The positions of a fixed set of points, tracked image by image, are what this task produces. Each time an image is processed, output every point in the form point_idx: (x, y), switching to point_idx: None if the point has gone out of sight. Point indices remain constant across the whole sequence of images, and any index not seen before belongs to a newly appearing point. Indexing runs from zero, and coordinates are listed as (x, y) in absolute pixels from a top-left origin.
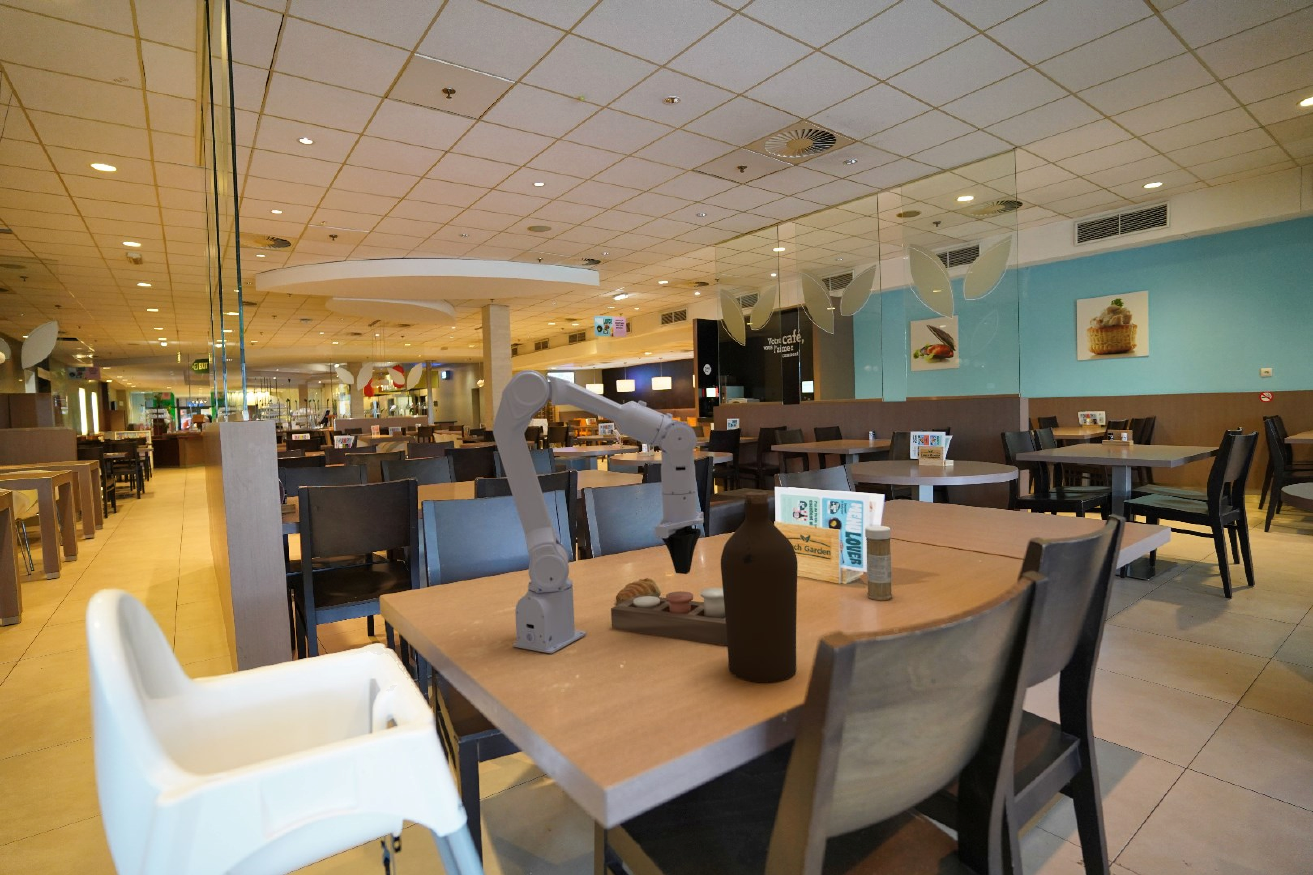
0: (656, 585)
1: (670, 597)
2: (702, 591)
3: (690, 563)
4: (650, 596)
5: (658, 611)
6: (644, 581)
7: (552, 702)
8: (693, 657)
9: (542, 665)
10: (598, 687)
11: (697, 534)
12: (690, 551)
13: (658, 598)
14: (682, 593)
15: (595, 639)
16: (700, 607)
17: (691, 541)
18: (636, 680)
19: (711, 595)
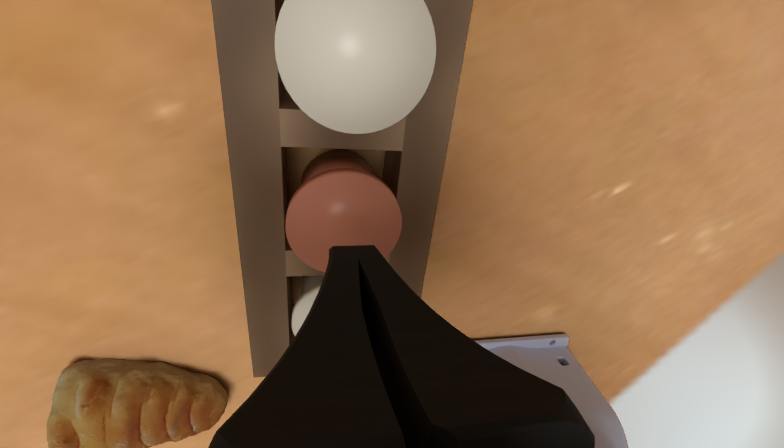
0: (60, 399)
1: (387, 244)
2: (378, 120)
3: (349, 268)
4: (294, 331)
5: (399, 249)
6: (77, 437)
7: (773, 213)
8: (564, 32)
9: (615, 315)
10: (726, 175)
11: (344, 427)
12: (362, 324)
13: (306, 301)
14: (317, 228)
15: (473, 313)
16: (302, 134)
17: (438, 375)
18: (703, 117)
19: (434, 44)
